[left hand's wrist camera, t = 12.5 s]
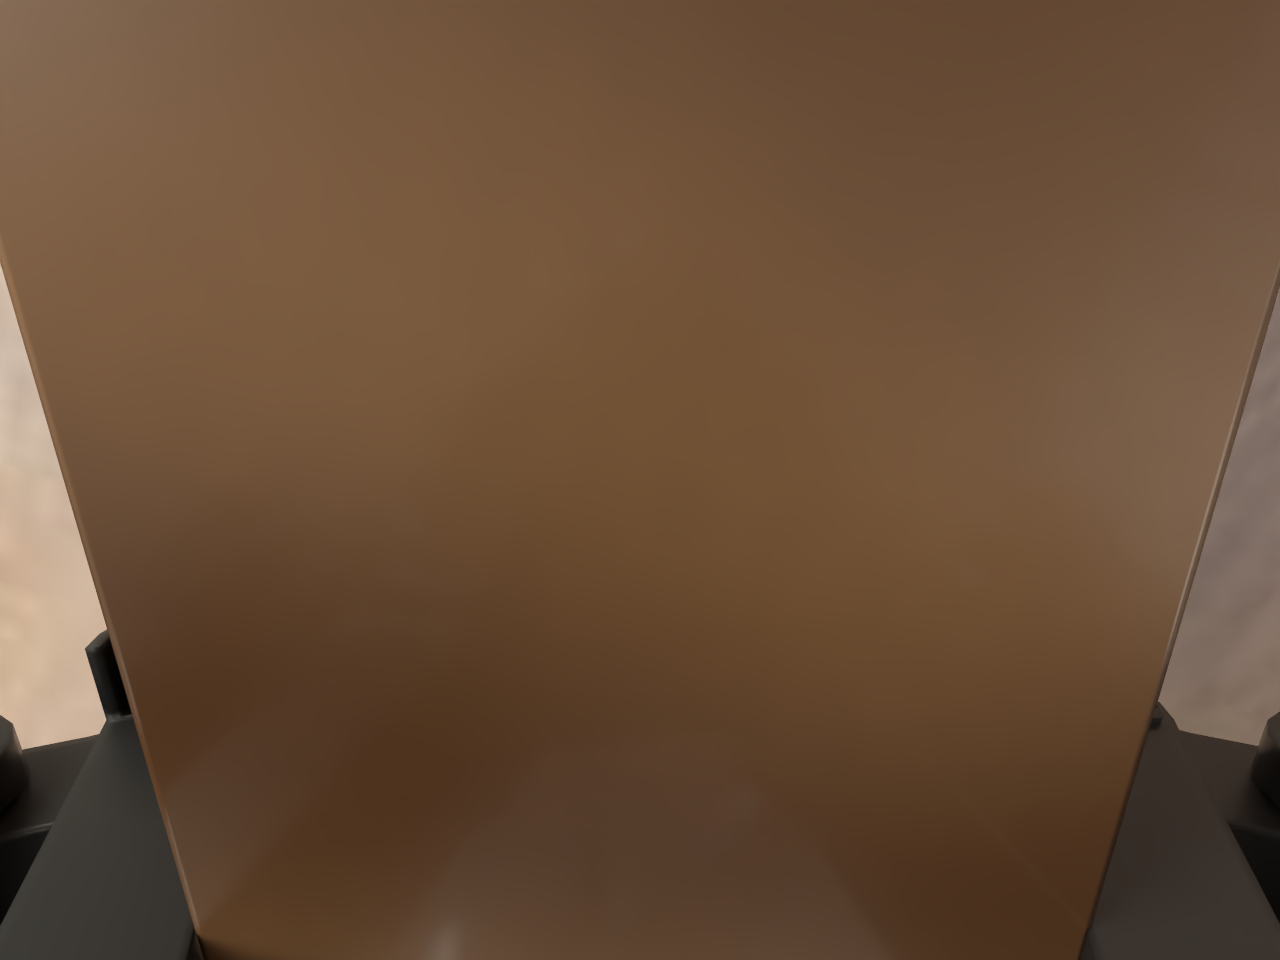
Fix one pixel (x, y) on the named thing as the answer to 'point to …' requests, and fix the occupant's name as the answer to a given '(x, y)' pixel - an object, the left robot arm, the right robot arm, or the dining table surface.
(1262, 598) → the dining table surface
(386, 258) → the box
